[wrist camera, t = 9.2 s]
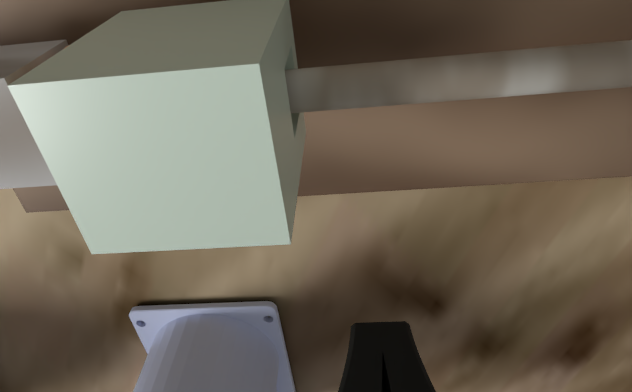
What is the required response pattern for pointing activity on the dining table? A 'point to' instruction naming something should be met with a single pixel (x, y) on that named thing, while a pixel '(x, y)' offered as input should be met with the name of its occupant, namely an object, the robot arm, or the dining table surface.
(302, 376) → the dining table surface
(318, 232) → the dining table surface
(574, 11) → the board
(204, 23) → the pale green block
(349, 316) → the dining table surface
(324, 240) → the dining table surface
